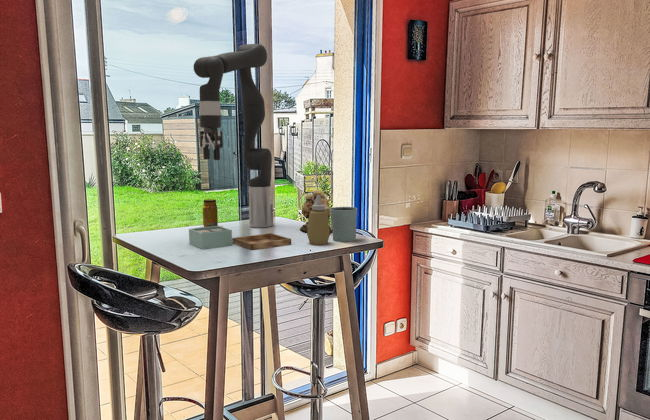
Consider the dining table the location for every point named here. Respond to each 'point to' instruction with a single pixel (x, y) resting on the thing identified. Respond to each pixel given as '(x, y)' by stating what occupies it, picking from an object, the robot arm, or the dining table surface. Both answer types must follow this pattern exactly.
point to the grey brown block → (216, 230)
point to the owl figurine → (308, 207)
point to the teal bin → (210, 237)
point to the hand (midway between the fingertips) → (211, 159)
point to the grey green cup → (344, 223)
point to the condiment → (210, 213)
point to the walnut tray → (261, 241)
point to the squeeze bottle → (318, 224)
